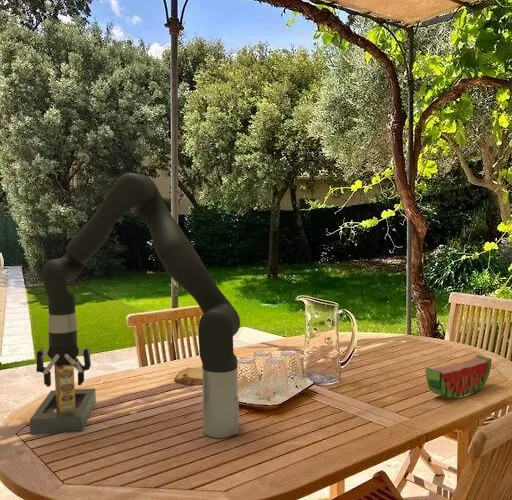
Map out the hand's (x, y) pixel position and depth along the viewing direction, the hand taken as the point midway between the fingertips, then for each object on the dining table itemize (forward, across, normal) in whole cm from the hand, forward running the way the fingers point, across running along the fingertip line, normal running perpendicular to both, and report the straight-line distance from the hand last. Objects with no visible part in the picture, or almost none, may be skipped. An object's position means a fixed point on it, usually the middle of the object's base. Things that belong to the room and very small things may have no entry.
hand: (64, 385), depth 148 cm
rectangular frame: (+9, 0, 0) cm, 9 cm away
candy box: (+9, 0, 0) cm, 9 cm away
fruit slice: (+9, +120, +1) cm, 120 cm away
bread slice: (+10, +41, +28) cm, 50 cm away
